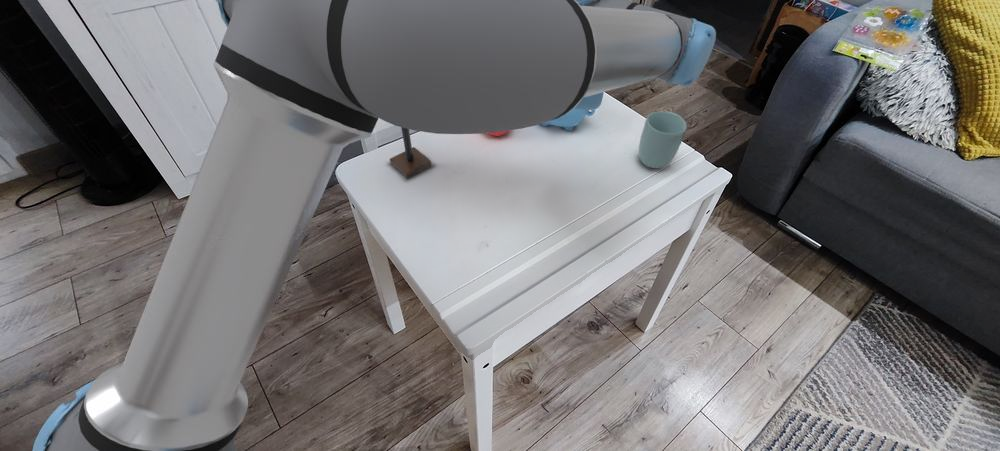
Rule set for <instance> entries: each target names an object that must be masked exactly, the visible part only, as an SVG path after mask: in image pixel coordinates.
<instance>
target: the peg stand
mask: <svg viewBox="0 0 1000 451" xmlns="http://www.w3.org/2000/svg"><path fill="white" fill-rule="evenodd" d="M400 129H401V134H402V141H403V146H404V151H403V152H400V153H398V154H397V155H394V156H392V157H390V158H389V162H390V165H391V166H392V167H393V168H394V169H395V170H397V171H398V173H400V174H401V175H402V176H403V177H404V178H406V180H408V179H409V178H411V177H414V176H416V175H417V174H420V173H422V172H424V171H426V170H427V169H429V168H431V167H432V160H430V158H428V157H427V156H426V155H424V154H423V153H422V152H421V151H420V150H419V149H417V148H416V147H415V146H412V140H411V133H410V129H407V128H403V127H400Z"/></svg>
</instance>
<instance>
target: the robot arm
mask: <svg viewBox="0 0 1000 451" xmlns="http://www.w3.org/2000/svg"><path fill="white" fill-rule="evenodd" d="M215 2H216V3H217V5H218V10H219V12H220V18H221V20H222V21H223V23H224V25H225V26H226V31H225V33H224V36H223V38H222V41H221V43H220V47H219V50H218V51H217V55H216V57H215V60H214V62H213V67H214V70H215V71H216V73H217V75H218V77H219V79H220V81H221V83H222V85H223V87H224V89H225V91H226V93H227V99H226V102H225V105H224V107H223V110H222V113H221V115H220V118H219V120H218V122H217V126H216V127H215V130H214V133H213V135H212V138H211V140H210V142H209V145H208V147H207V150H206V153H205V156H204V158H203V160H202V163H201V166H200V168H199V171H198V173H197V175H196V178H195V181H194V183H193V186H192V188H191V191H190V194H189V196H188V199H187V201H186V204H185V206H184V208H183V210H182V214H181V216H180V219H179V221H178V223H177V226H176V228H175V232H174V234H173V237H172V239H171V242H170V244H169V247H168V249H167V251H166V254H165V257H164V259H163V262H162V264H161V267H160V269H159V272H158V274H157V276H156V279H155V282H154V284H153V287H152V289H151V292H150V294H149V297H148V299H147V302H146V305H145V307H144V310H143V312H142V315H141V317H140V319H139V321H138V325H137V327H136V329H135V330H136V331H135V332H134V335H133V337H132V340H131V343H130V345H129V348H128V350H127V352H126V355H125V358H124V361H123V362H120V363H117V364H116V365H113V366H111V367H109V368H108V369H106V370H104V371H103V372H102V373H100V375H98V376H97V377H96V378H95V379H94V380H92V381H90V382H88V383H86V384H85V385H83V386H82V387H81V388H79V389H77V391H75V399H73V400H72V401H70V402H62V403H61V404H60V405H59V406H58V407H56V409H55V410H54V411H53V412H52V413H51V414H50V416H48V418H47V419H46V421H45V423H44V424H43V425H42V427H41V428H40V430H39V432H38V434H37V436H36V437H35V440H34V443H33V446H32V450H31V451H239V450H238V449H237V448H236V445H235V440H236V437H237V434H238V433H239V430H240V428H241V425H242V423H243V421H244V419H245V416H246V414H247V411H248V407H249V400H248V399H249V398H248V393H247V391H246V389H245V387H244V386H243V384H242V383H241V381H242V379H243V376H244V374H245V372H246V370H247V367H248V365H249V363H250V360H251V359H252V356H253V355H254V352H255V349H256V347H257V344H258V342H259V340H260V338H261V335H262V333H263V331H264V329H265V326H266V324H267V322H268V320H269V317H270V315H271V314H272V312H273V311H272V310H273V308H274V306H275V304H276V302H277V300H278V297H279V294H280V293H281V290H282V288H283V286H284V284H285V282H286V279H287V276H288V274H289V273H290V270H291V267H292V266H293V263H294V261H295V259H296V256H297V254H298V253H299V252H298V251H299V249H300V247H301V245H302V242H303V240H304V238H305V235H306V234H307V231H308V229H309V226H310V225H311V222H312V220H313V218H314V215H315V212H316V210H317V209H318V207H319V204H320V201H321V199H322V197H323V195H324V192H325V190H326V188H327V186H328V183H329V181H330V179H331V177H332V174H333V172H334V170H335V168H336V165H337V163H338V160H339V159H340V156H341V154H342V152H343V150H344V148H345V147H347V146H349V144H352V143H355V142H358V141H361V140H364V139H367V138H369V137H371V135H372V134H373V132H374V130H375V127H376V125H377V123H378V121H379V119H380V120H381V121H384V122H386V123H388V124H391V125H392V126H394V127H400V128H401V127H403V128H407V129H409V130H411V131H414V132H415V131H416V132H421V133H422V132H424V133H430V134H438V135H440V134H441V135H475V134H477V135H479V134H487V133H492V132H502V131H508V130H509V131H514V130H521V129H527V128H530V127H531V128H532V127H535V126H538V125H542V123H545V122H548V121H551V120H554V119H557V118H559V117H562V116H563V115H565V114H567V113H569V112H570V111H571V110H572V109H582V110H589V111H591V110H597V109H599V107H601V105H602V102H603V98H604V93H606V92H609V91H613V90H616V89H620V88H624V87H627V86H631V85H635V84H639V83H641V82H645V81H649V80H653V79H660V80H663V81H666V83H668V84H675V85H678V86H680V87H681V86H682V87H690V86H691V85H693V84H694V83H695V82H696V81H697V80H698V79H699V77H700V75H701V74H702V72H703V70H704V69H705V67H706V65H707V63H708V61H709V59H710V57H711V55H712V52H713V49H714V46H715V43H716V40H717V38H716V37H717V31H716V29H715V28H714V26H712V25H710V24H707V23H705V22H701V21H699V20H697V19H696V18H693V17H686V16H684V15H683V16H682V15H679V14H676V13H672V12H670V11H666V10H661V9H658V8H655V7H652V6H648V5H644V4H641V3H638V2H636V1H633V0H215Z"/></svg>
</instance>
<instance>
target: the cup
mask: <svg viewBox="0 0 1000 451" xmlns="http://www.w3.org/2000/svg"><path fill="white" fill-rule="evenodd" d="M686 131H687V122H686V121H685V119H684V118H683V117H682V116H681V115H679V114H677V113H675V112H671V111H666V110H659V111H653V112H650V113H649V114H648V115H647V117H646V118H645V121H644V125H643V127H642V131H641V135H640V138H639V141H638V148H637V150H638V157H639V161H640V162H641V163H642V164H643V165H645V166H646V167H648V168H652V169H662V168H665V167H667V166H669V165H670V164H671V163H672V162H673V160H674V159H675V157H676V155H677V153H678V151H679V149H680V147H681V144H682V141H683V139H684V136H685V134H686Z"/></svg>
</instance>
